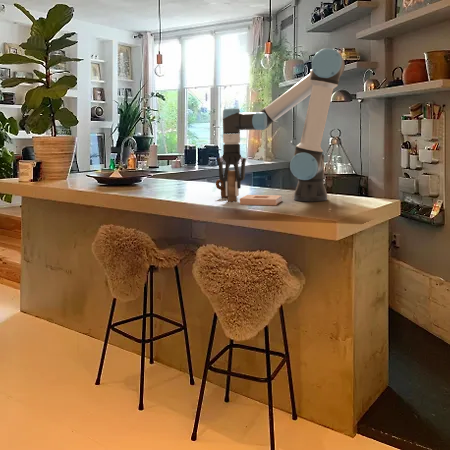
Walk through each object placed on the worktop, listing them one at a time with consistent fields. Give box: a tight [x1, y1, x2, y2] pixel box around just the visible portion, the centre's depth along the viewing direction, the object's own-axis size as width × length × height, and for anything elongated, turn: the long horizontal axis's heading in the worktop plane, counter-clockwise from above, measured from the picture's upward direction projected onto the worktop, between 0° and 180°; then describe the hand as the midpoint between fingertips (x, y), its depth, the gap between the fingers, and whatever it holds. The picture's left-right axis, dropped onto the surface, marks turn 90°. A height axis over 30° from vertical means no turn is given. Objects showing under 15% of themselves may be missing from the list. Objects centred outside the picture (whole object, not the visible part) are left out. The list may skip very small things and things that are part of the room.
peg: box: [227, 169, 238, 203], centre depth 240 cm, size 4×4×14 cm
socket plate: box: [239, 194, 283, 206], centre depth 235 cm, size 14×16×2 cm
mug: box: [215, 178, 228, 199], centre depth 254 cm, size 12×8×9 cm, turn 135°
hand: (232, 195), depth 241 cm, fingers closed on peg, 4 cm apart
